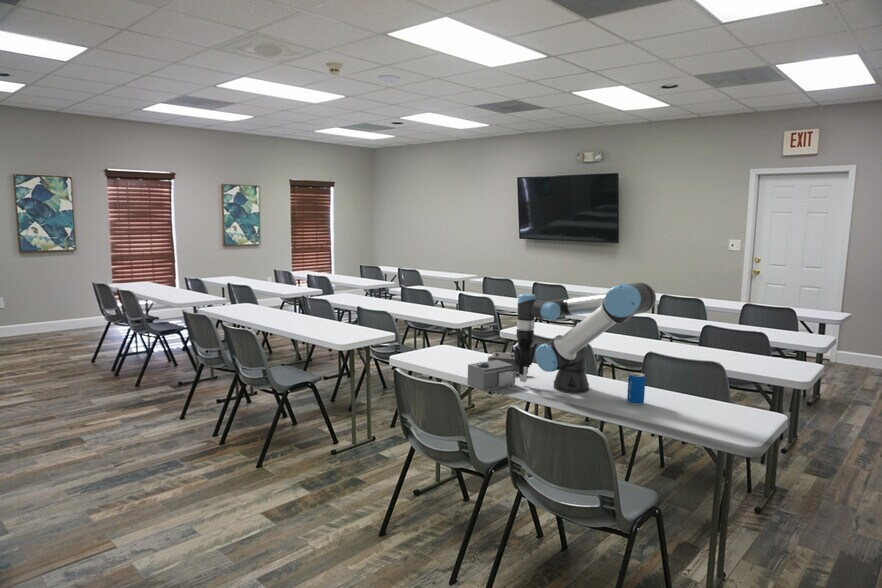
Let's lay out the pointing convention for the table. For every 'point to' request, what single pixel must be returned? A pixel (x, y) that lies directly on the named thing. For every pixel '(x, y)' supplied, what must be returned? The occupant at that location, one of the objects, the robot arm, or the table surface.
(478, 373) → the sliding door box
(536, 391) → the table surface
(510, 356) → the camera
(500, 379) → the side door
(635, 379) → the beverage can
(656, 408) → the table surface
